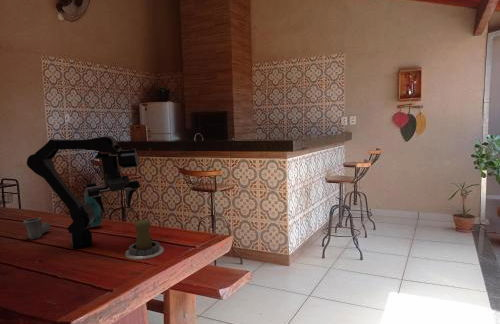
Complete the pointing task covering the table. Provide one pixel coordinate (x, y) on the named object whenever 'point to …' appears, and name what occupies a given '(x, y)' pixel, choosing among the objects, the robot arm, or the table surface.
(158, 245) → the iron collar
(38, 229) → the pipe
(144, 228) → the cork
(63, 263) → the table surface
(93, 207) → the beverage bottle
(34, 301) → the table surface
